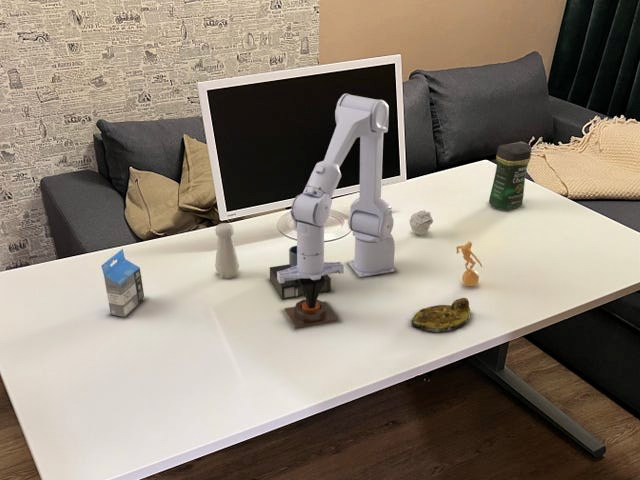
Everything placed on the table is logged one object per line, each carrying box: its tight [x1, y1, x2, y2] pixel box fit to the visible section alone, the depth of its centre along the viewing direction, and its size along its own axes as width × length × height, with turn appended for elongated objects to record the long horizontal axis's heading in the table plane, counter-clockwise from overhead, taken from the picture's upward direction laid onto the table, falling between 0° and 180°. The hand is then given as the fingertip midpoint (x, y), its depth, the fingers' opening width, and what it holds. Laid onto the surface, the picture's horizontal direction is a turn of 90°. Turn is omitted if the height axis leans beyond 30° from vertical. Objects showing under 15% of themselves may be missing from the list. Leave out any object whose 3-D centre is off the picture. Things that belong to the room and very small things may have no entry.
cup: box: [288, 245, 297, 268], centre depth 171 cm, size 5×5×6 cm
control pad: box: [283, 298, 339, 330], centre depth 163 cm, size 10×8×2 cm
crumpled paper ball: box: [409, 209, 434, 236], centre depth 198 cm, size 6×7×7 cm
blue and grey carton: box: [101, 248, 145, 318], centre depth 162 cm, size 9×4×12 cm, turn 163°
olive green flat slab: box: [411, 297, 471, 333], centre depth 162 cm, size 9×5×15 cm
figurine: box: [456, 241, 483, 287], centre depth 173 cm, size 8×6×12 cm
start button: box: [302, 302, 320, 312], centre depth 163 cm, size 4×4×2 cm
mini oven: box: [269, 263, 332, 301], centre depth 174 cm, size 12×11×4 cm
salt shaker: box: [214, 222, 240, 279], centre depth 175 cm, size 6×6×13 cm
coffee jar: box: [488, 141, 532, 211], centre depth 212 cm, size 10×8×19 cm
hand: (310, 305), depth 162 cm, fingers closed, pressing on start button
